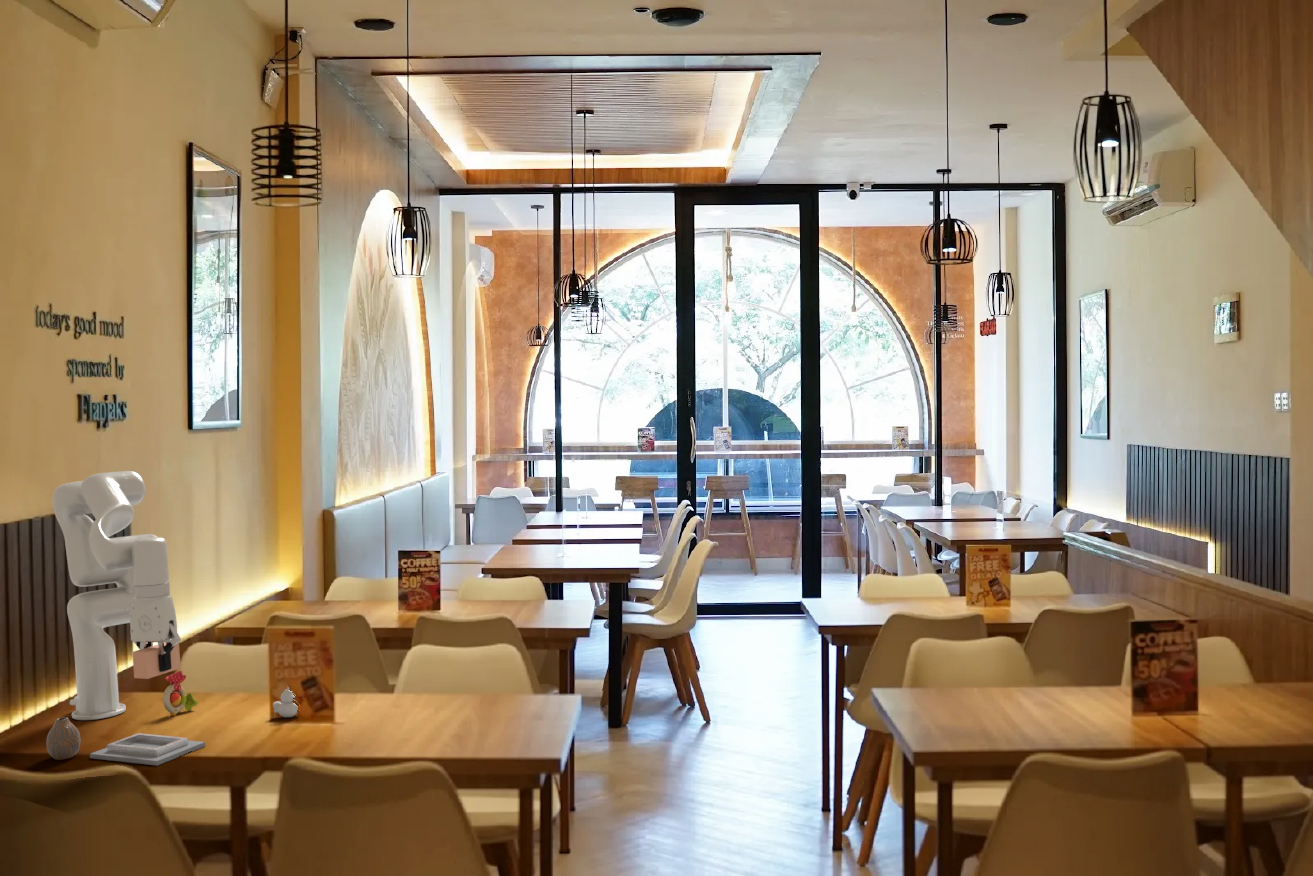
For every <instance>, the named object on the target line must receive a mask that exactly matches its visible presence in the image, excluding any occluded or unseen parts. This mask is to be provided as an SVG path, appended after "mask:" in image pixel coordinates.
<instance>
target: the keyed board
mask: <svg viewBox="0 0 1313 876" xmlns="http://www.w3.org/2000/svg"><path fill="white" fill-rule="evenodd" d="M205 747H206V742H205V741H199V740H191V739H190V740H189V737H182V736H171V735H164V734H163V735H161V734H152V733H151V734H150V733H141V732H138V733H134V734H132V735H130V736H126V737H124V738H121V739H118V740H115V741H113V742H111V743H108V744H106V747H105V748H102V749H100V750H96V751H94V752H91V753H89V758H90V759H95V760H105V761H112V762H113V761H114V762H123V763H129V764H139V765H140V764H142V765H150V766H160V765H162V764H165V763H167V762H170V761H172V760H175V759H177V758H180V757H181V756H180V755H182V756H184V755H183V754H185V753H187V754H189V753H188V752H190V751H192V752H195V751H197V750H199V749H202V748H205ZM190 753H191V752H190ZM185 755H186V754H185ZM179 756H180V757H179Z"/></svg>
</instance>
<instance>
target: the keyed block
mask: <svg viewBox="0 0 1313 876" xmlns="http://www.w3.org/2000/svg"><path fill="white" fill-rule="evenodd" d="M165 645H166V642H164V646H165ZM159 654H160V650H159V645H158V644H156V645H153V646H151V647H148V648H144V649H141V650H140V649H138V650H135V651H132V664H133V665H132V666H133V676H134V677H133V678H134V679H144V680H149V679H152V678H154V677H157V676H161V675H164V674H168V673H170V672H173V671H176V670H179V669H181V655H180V642H179V643H177V644H176V645H175V647H174V648H173V651H172V652H171V669H170V670H167V671H163V672H160V671H159V659H158V655H159Z"/></svg>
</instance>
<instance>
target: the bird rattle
mask: <svg viewBox="0 0 1313 876" xmlns="http://www.w3.org/2000/svg"><path fill="white" fill-rule="evenodd" d="M186 678H187V675H186V674H184V673H183V670H178V671H176V672H174V673H172V674H171V673H170V674H169V675H167V676H165V681H166V682H167V683H170V684H169V685H168V686H167V687H166V688H165V690H164V692H163V696H162V704H163V707H164V708H165V710H166V711H167V712H168V713H169V714H170V716H171V717H175V716H176V715H177V714H178V713H179V712H180V713H181V711H182V710H183V709H184V708H185V710H186V711H189V712H190V711H192V709H193V707H195V706H198V705H199V701H197V699H195V698H194V696H193V693H192V692H188V693H186V690H185V689H184V687H183V686H182V685H181V684H182V683H183V682H184V681H185V680H186Z"/></svg>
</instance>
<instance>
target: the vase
mask: <svg viewBox="0 0 1313 876" xmlns="http://www.w3.org/2000/svg"><path fill="white" fill-rule="evenodd" d="M47 733H48V734H47V735H46V750H47V753H48V754H49V755H50V756H51V757H52V758H53V759H54V760H56V761H57V760H58V761H59V760H67V759H71V758H73V757H75V756H76V754H78V752H79V751H80V750H79V749H80V748H81V743H82V742H81V739H82V738H81V734H80V731H79V729H78V727H76V726H75V725H74V724H73V722H71V721H70V719H69V717H67V716H66V717H65V716H64V717H59V718H57V719H55V722H54V724H53V725H52V727H51V728H50V730H49V732H47ZM74 755H75V756H74Z"/></svg>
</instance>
